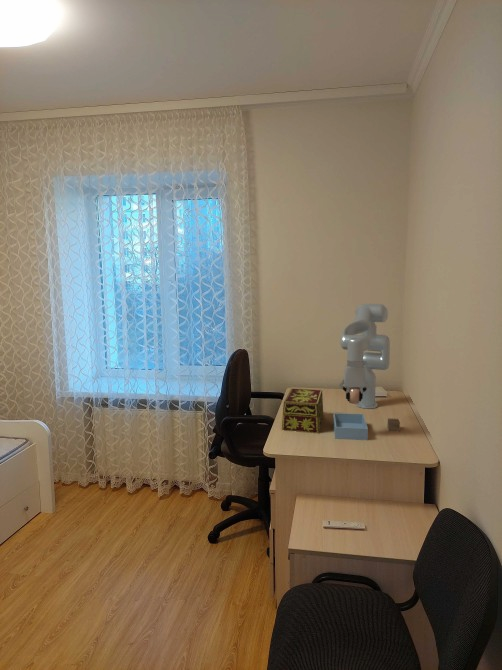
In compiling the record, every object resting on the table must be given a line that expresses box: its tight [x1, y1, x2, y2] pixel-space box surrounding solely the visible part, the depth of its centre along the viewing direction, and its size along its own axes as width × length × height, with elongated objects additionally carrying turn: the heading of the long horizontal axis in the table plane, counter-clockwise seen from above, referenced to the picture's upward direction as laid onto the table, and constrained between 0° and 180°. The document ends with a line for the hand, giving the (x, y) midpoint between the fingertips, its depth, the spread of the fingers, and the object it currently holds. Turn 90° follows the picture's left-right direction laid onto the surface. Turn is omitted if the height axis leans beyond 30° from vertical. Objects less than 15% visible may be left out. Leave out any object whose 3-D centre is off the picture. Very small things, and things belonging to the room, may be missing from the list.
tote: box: [332, 412, 369, 441], centre depth 227 cm, size 21×15×6 cm
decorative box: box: [281, 388, 324, 434], centre depth 239 cm, size 28×19×15 cm
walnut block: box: [387, 418, 401, 433], centre depth 229 cm, size 5×5×5 cm
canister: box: [348, 387, 360, 405], centre depth 219 cm, size 5×5×7 cm
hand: (354, 400), depth 220 cm, fingers closed on canister, 5 cm apart
